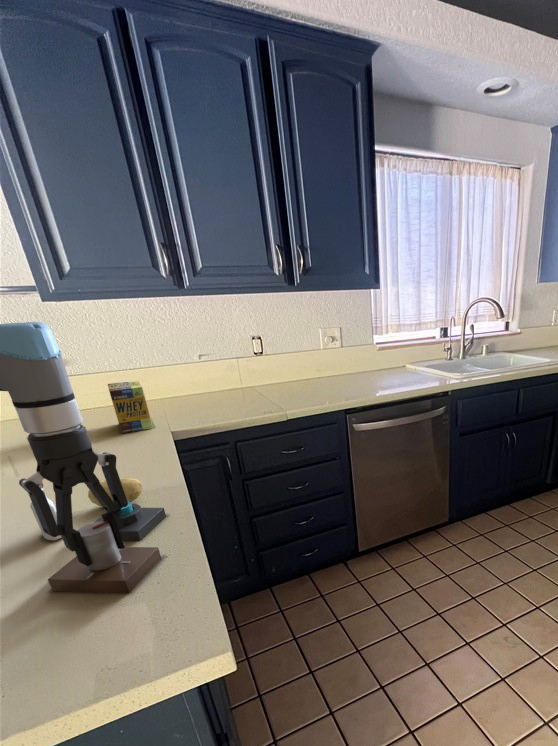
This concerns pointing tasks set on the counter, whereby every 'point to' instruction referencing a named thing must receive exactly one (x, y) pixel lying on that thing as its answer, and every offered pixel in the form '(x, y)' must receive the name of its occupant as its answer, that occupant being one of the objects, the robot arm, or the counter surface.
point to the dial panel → (107, 573)
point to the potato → (129, 487)
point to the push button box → (139, 522)
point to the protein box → (130, 406)
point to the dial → (100, 545)
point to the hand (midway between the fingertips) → (102, 554)
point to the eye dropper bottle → (53, 515)
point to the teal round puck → (126, 509)
